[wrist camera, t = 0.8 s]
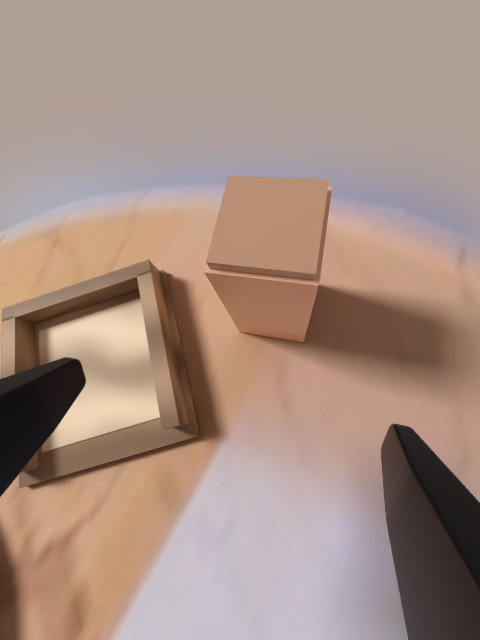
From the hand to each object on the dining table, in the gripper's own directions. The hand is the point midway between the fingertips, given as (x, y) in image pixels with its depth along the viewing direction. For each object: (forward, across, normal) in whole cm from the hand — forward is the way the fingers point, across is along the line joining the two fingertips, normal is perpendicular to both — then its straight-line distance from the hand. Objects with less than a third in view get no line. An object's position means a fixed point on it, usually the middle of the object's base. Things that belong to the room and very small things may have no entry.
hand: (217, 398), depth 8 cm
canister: (+15, 0, +4) cm, 15 cm away
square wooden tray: (+10, +13, +9) cm, 19 cm away
